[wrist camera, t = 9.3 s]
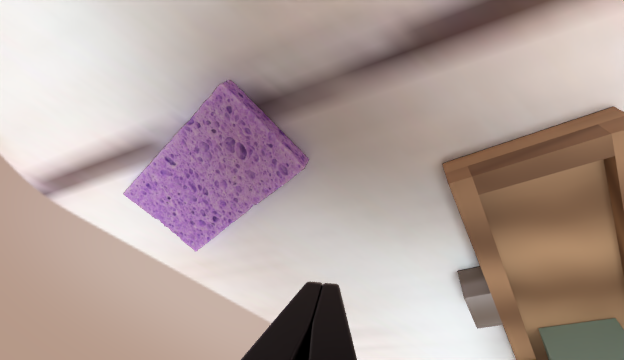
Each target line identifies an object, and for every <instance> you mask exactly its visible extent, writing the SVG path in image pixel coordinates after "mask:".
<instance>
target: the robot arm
mask: <svg viewBox="0 0 624 360" xmlns="http://www.w3.org/2000/svg"><path fill="white" fill-rule="evenodd" d="M241 360H357V358H356V354H355V350H354V345H353V341H352V337H351V333H350V329H349V325H348V321H347V317H346V313H345V308H344V304H343V300H342V296H341V292H340V288H339V285H337V284H331V283H324V284H322V283H319V282H307V283H306V284H305V285H304V286H303V287H302V289H301V290H300V291H299V292H298V293H297V294H296V296H295V297H294V298H293V299H292V300H291V301H290V303H289V304H288V305H287V306H286V307H285V309H284V310H283V311H282V312H281V313H280V314H279V316H278V317H277V318H276V319H275V320H274V321H273V323H272V324H271V325H270V326H269V327H268V329H267V330H266V331H265V332H264V333H263V334H262V336H261V337H260V338H259V339H258V340H257V341H256V343H255V344H254V345H253V346H252V347H251V349H250V350H249V351H248V352H247V353H246V354H245V356H244V357H243V358H242V359H241Z"/></svg>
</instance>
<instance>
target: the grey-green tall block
mask: <svg viewBox="0 0 624 360" xmlns="http://www.w3.org/2000/svg"><path fill="white" fill-rule="evenodd" d="M538 329H539V332H540V335H541V338H542V341H543V344H544V348H545V351H546V354H547V357H548V360H624V330H623V328H622V327H621V325H620V324H619V322H618V321H617V319H616V318H612V319H605V320H597V321H590V322H582V323H575V324H567V325H560V326H552V327H545V328H538Z"/></svg>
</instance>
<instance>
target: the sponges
mask: <svg viewBox="0 0 624 360" xmlns="http://www.w3.org/2000/svg"><path fill="white" fill-rule="evenodd" d="M308 161H309V159H308V158H307V157H306V156H305V155H304V153H303V152H302V151H301V150H300V149H299V148H298V147H297V146H296V145H295V144H294V143H293V142H292V141H291V140H290V139H289V138H287V136H286V135H285V134H284V133H283V132H282V131H281V130H280V129H279V128H278V127H277V126H276V125H275V124H274V123H273V122H272V121H271V120H270V119H269V118H268V117H267V116H266V115H265V114H264V112H263V111H262V110H261V109H260V108H258V106H257V105H255V104H254V103H253V101H252V100H251V99H249V98H248V97H247V96H246V94H245V93H244V92H243V91H242V90H240V89H239V88H238V87H237V86H236V84H235V83H234V82H232V81H231V80H227V81H226V82H224V83H221V84H219V85H218V87H217V88H216V89H215V90H214V92H213V93H212V95H211V96H210V97H209V98H208V99H207V100H206V101H205V102H204V103H203V104H202V106H201V107H200V108H199V110H198V111H197V112H196V113H195V114H194V115H193V117H192V118H191V119H190V120H189V121H188V122H187V123H186V124H185V125H184V126H183V127H182V128H181V130H179V132H178V133H177V134H175V135H174V137H173V139H172V140H171V141H170V142H169V143H168V144H167V145H166V146H165V147H164V148H163V149H162V150H161V151H160V153H159V154H158V155H157V156H156V157H155V158H154V159H153V161H152V162H151V163H150V164H149V165H148V166H147V167H146V168H145V169H144V171H143V172H142V173H141V174H140V175H139V176H138V177H137V179H136V180H135V181H134V182H133V183H132V184H131V186H130V187H128V189H127V190H126V191H125V192H124V193H123V194H124V195H125V196H126V197H128V198H129V199H130V200H131V201H133V202H134V203H136V204H137V205H138V206H140V207H141V208H142V209H143V210H145V211H146V212H147V213H149V214H150V215H151V216H152V217H154V218H155V219H159V220H160V221H161V223H163V224H164V226H166V227H168V228H169V229H170V230H171V231H172V232H173V233H175V234H176V235H177V236H179V237H180V238H181V240H182V241H184V242H185V243H186V244H187V245H188V246H190V247H191V248H193V249H194V250H195V251H198V249H200V248H201V247H203V246H204V245H205V244H206V243H208V242H209V241H210V240H211V239H213V238H214V237H215V236H217V235H218V234H219V233H220V232H221V231H223V230H224V229H225V228H226V227H227V226H229V225H230V224H231V223H232V222H234V221H235V220H237V219H238V218H239V217H241V216H242V215H243V214H245V213H246V212H247V211H248V210H249V209H250V208H251V207H252V206H253V205H256V204H257V203H259V202H261V201H262V200H263V199H265V198H266V197H267V196H269V195H270V194H272V193H273V192H274V191H275V190H276V189H278V188H279V187H281V186H282V185H284V184H285V183H287V182H288V181H289V180H290V179H292V178H293V177H294V176H295V175H297V174H298V173H299V172H300V171H302V170H303V169H304V168H305V166H306V164H307V163H308Z"/></svg>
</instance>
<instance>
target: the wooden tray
mask: <svg viewBox="0 0 624 360" xmlns="http://www.w3.org/2000/svg"><path fill="white" fill-rule="evenodd" d="M443 167H444V171H445V174H446V178H447V181H448V184H449V187H450V189H451V192H452V194H453V197H454V200H455V202H456V205H457V207H458V210H459V213H460V215H461V218H462V220H463V223H464V225H465V228H466V231H467V233H468V236H469V238H470V241H471V244H472V246H473V249H474V251H475V254H476V257H477V259H478V262H479V264H480V267H475V268H471V269H466V270H461V271H458V275H459V279H460V283H461V287H462V291H463V295H464V299H465V301H466V304H467V306H468V308H469V311H470V313H471V315H472V317H473V320H474V322H475V324H476V327H477V328H484V327H491V326H498V325H503V326H504V329H505V332H506V334H507V337H508V339H509V342H510V344H511V347H512V350H513V352H514V355H515V357H516V360H548V357H547V354H546V351H545V348H544V344H543V341H542V338H541V335H540V332H539V329H538V328H545V327H552V326H560V325H567V324H575V323H582V322H590V321H597V320H605V319H612V318H616V319H617V321H618V322H619V324H620V325H621V327H622V328H623V330H624V112H623V111H621V110H619V109H617V108H615V107H611V108H608V109H605V110H602V111H599V112H596V113H593V114H590V115H587V116H584V117H581V118H578V119H575V120H572V121H569V122H566V123H563V124H560V125H557V126H554V127H551V128H548V129H545V130H542V131H539V132H536V133H533V134H530V135H527V136H524V137H521V138H518V139H515V140H512V141H509V142H506V143H503V144H500V145H497V146H494V147H491V148H488V149H485V150H482V151H479V152H476V153H473V154H470V155H467V156H464V157H461V158H458V159H455V160H452V161H449V162H446V163H443Z"/></svg>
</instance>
